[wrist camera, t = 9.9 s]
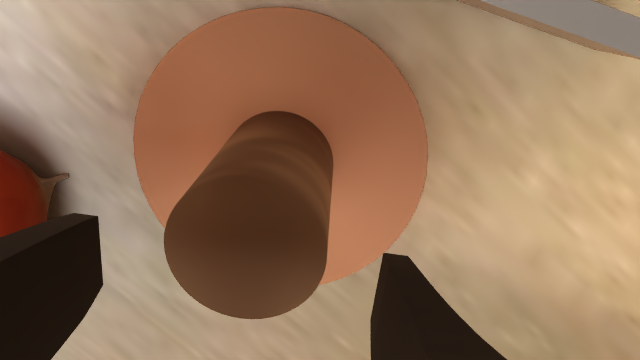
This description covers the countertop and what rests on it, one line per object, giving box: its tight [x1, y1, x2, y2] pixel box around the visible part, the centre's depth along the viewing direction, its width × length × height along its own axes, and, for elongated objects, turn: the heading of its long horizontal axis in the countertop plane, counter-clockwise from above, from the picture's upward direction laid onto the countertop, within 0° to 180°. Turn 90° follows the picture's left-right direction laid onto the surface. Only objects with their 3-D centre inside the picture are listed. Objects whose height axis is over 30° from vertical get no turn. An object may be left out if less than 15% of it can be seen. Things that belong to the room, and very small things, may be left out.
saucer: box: [134, 7, 428, 285], centre depth 19 cm, size 12×12×1 cm
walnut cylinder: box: [164, 111, 333, 319], centre depth 16 cm, size 4×4×7 cm
